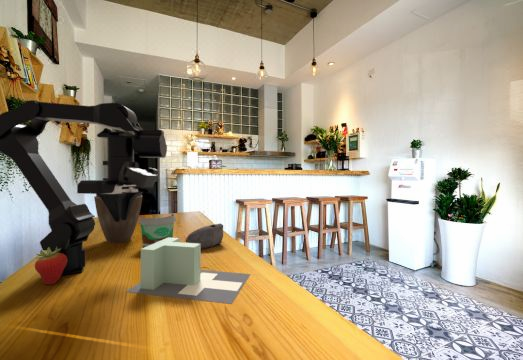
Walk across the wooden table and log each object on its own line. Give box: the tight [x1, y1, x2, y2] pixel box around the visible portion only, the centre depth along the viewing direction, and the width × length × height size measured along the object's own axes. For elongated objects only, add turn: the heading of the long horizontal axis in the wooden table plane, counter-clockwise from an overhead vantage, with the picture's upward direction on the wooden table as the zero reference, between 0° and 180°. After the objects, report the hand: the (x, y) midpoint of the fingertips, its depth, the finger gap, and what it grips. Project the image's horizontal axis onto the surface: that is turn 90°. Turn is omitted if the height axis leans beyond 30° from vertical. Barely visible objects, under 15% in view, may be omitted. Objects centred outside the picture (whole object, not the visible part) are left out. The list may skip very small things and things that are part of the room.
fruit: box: [34, 246, 67, 285], centre depth 54 cm, size 5×5×8 cm
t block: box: [140, 237, 202, 290], centre depth 55 cm, size 10×10×8 cm
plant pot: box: [93, 194, 143, 244], centre depth 89 cm, size 15×15×16 cm
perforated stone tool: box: [185, 223, 224, 250], centre depth 82 cm, size 15×5×7 cm, turn 139°
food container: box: [138, 213, 177, 248], centre depth 82 cm, size 12×6×10 cm, turn 143°
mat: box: [124, 269, 251, 305], centre depth 54 cm, size 22×14×1 cm, turn 79°
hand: (120, 221), depth 61 cm, fingers closed
